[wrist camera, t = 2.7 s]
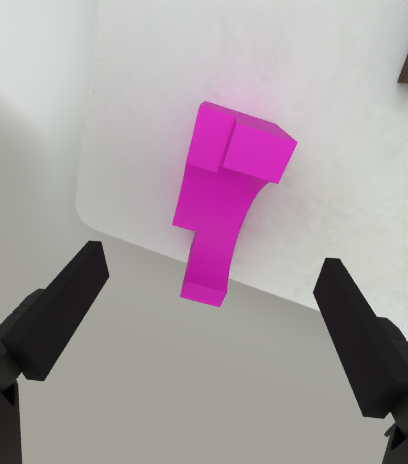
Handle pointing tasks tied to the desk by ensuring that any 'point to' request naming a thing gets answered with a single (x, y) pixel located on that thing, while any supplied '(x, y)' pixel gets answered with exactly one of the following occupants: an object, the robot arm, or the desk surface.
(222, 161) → the magenta curved bracket
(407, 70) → the dark brown rectangular tray
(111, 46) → the desk surface
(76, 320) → the robot arm
